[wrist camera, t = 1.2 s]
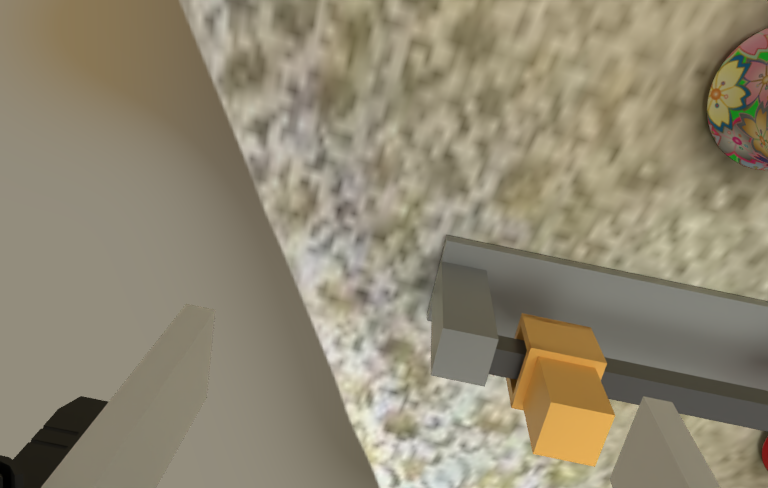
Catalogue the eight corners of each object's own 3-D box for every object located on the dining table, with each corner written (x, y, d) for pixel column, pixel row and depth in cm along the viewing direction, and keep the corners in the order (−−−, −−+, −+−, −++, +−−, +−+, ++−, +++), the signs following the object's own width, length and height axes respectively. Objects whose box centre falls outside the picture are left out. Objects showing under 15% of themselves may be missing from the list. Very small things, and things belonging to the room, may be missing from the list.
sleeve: (521, 313, 37) (542, 392, 29) (590, 327, 37) (628, 410, 29) (504, 369, 38) (520, 458, 31) (571, 382, 38) (602, 475, 31)
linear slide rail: (446, 234, 43) (449, 308, 33) (874, 323, 43) (1005, 423, 33) (427, 313, 45) (424, 404, 35) (834, 397, 45) (945, 511, 35)
